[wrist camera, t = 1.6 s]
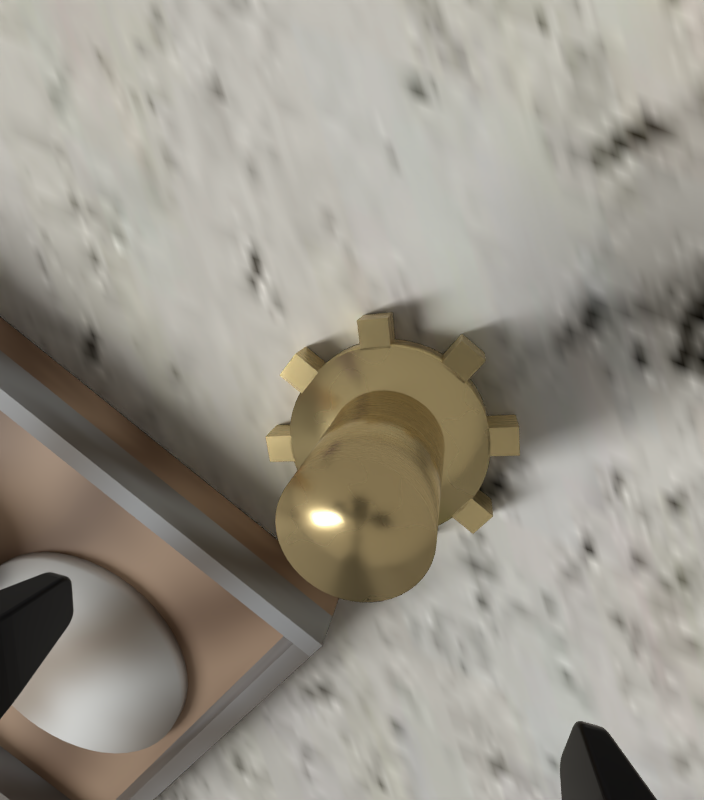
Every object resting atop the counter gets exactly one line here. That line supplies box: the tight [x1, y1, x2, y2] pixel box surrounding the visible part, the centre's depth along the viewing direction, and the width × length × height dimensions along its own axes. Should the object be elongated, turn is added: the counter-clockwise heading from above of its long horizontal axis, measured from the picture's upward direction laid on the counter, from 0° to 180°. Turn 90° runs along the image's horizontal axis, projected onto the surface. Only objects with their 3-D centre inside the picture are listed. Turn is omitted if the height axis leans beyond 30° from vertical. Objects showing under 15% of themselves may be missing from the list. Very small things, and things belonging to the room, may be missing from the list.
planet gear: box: [266, 312, 520, 602], centre depth 15 cm, size 9×9×7 cm
